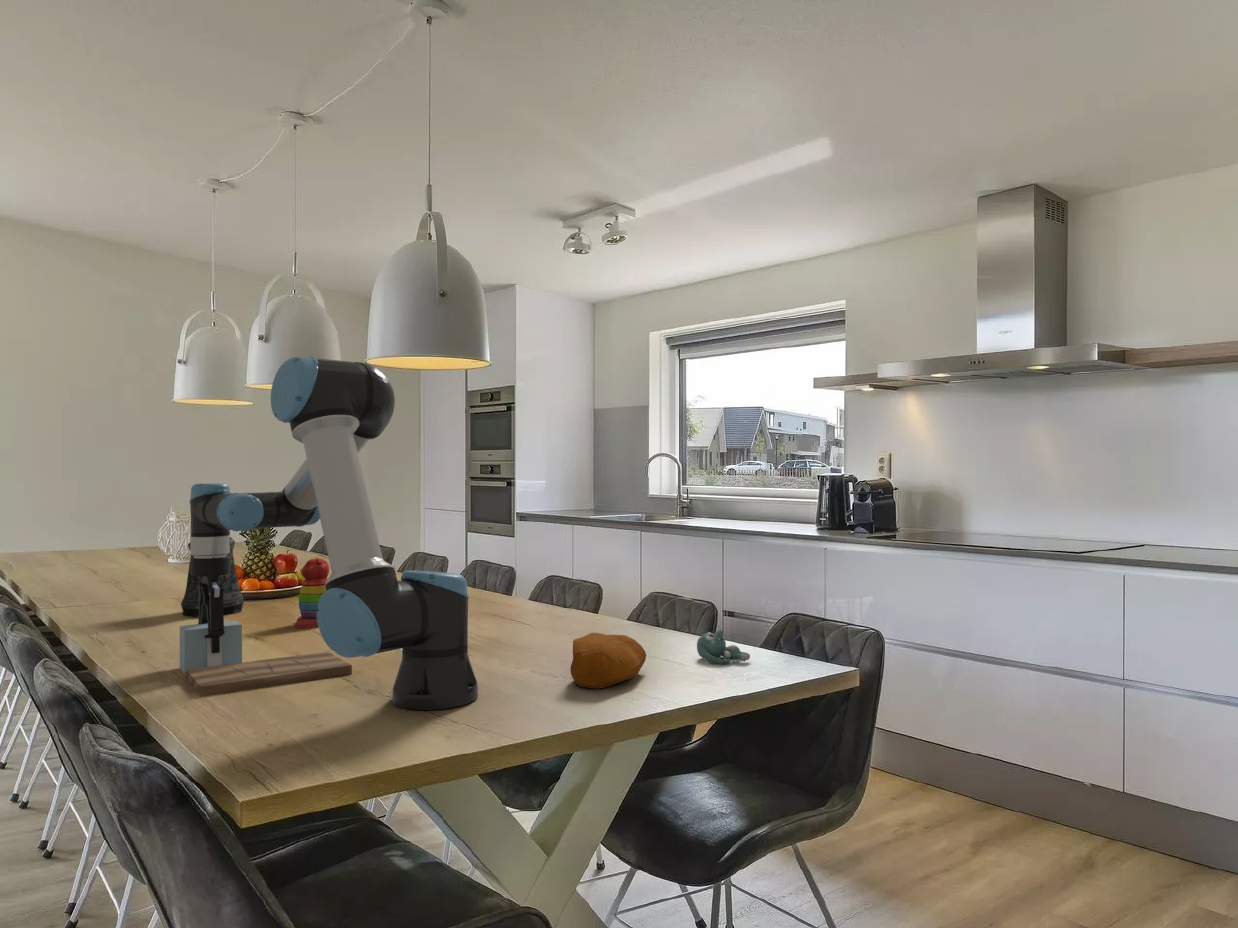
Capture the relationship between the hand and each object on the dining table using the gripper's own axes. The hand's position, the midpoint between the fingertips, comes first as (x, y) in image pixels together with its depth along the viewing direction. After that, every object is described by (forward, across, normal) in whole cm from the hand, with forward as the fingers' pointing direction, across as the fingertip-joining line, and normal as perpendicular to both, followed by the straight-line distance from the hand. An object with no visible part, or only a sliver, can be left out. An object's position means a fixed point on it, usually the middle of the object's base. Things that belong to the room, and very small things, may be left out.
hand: (211, 664), depth 181 cm
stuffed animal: (+1, -60, -90) cm, 109 cm away
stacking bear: (+1, +37, -32) cm, 49 cm away
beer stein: (+1, +74, -14) cm, 75 cm away
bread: (+1, -59, -62) cm, 86 cm away
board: (+1, -16, -8) cm, 18 cm away
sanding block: (+1, 0, 0) cm, 1 cm away
